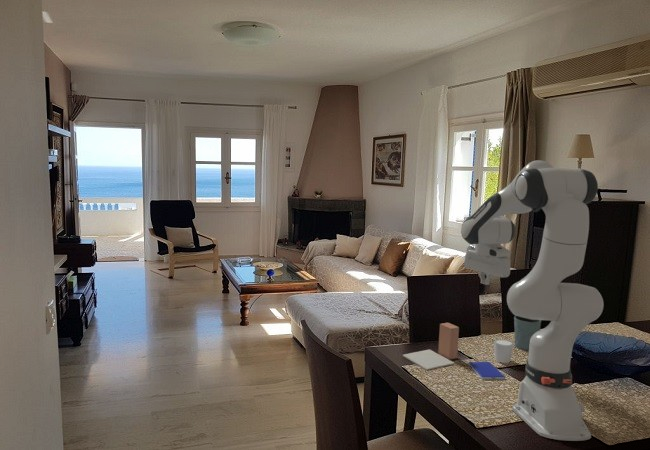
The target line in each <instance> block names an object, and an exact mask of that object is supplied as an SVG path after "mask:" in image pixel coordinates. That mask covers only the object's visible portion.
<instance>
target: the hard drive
mask: <svg viewBox="0 0 650 450" xmlns="http://www.w3.org/2000/svg"><path fill="white" fill-rule="evenodd" d="M468 364H469V365H470V366H471V367H472V368H471V367H470V366H469V365H468V366H469V367H470V368H471V369H472V370H473V371H474V373H475V374H476V375H479V376H478V377H479V378H480V379H481V380H484V381H485V380H487V381H488V380H506V376H505V375H504V374H503V373H502V372H501V371H500V370H499V369H498V368H496V366H494V365H493V364H492V363H491V362H490V361H469V362H468Z"/></svg>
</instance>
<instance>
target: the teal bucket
mask: <svg viewBox="0 0 650 450" xmlns="http://www.w3.org/2000/svg"><path fill="white" fill-rule="evenodd" d="M513 320H514V321H513V323H514V324H513V326H514V346H515V348H516V347H517V349H518V348H519V349H518V350H521V349H522V350H521V351H525V350H526V352H529V344H530V339H531V337H532V335H533V334H534V333H536V332H537V331H539V330H541V327H542V326H541V325H542V320H532V319H527V318H523V317H519V316H515V315H514V317H513Z"/></svg>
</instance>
